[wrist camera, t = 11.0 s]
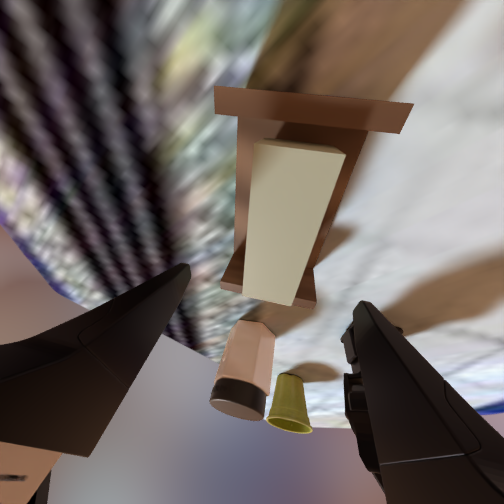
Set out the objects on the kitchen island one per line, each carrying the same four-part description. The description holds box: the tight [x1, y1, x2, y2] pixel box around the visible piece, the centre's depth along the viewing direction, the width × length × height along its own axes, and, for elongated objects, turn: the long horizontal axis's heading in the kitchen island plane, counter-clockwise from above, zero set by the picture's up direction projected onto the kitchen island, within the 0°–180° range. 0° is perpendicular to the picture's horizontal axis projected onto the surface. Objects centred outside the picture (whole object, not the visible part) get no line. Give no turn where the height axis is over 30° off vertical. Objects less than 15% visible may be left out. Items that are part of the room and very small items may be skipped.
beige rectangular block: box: [242, 138, 346, 306], centre depth 14 cm, size 12×4×4 cm, turn 175°
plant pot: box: [266, 374, 312, 433], centre depth 41 cm, size 9×9×9 cm
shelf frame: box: [214, 86, 414, 309], centre depth 16 cm, size 16×10×6 cm, turn 175°
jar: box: [210, 320, 275, 421], centre depth 30 cm, size 9×8×12 cm
